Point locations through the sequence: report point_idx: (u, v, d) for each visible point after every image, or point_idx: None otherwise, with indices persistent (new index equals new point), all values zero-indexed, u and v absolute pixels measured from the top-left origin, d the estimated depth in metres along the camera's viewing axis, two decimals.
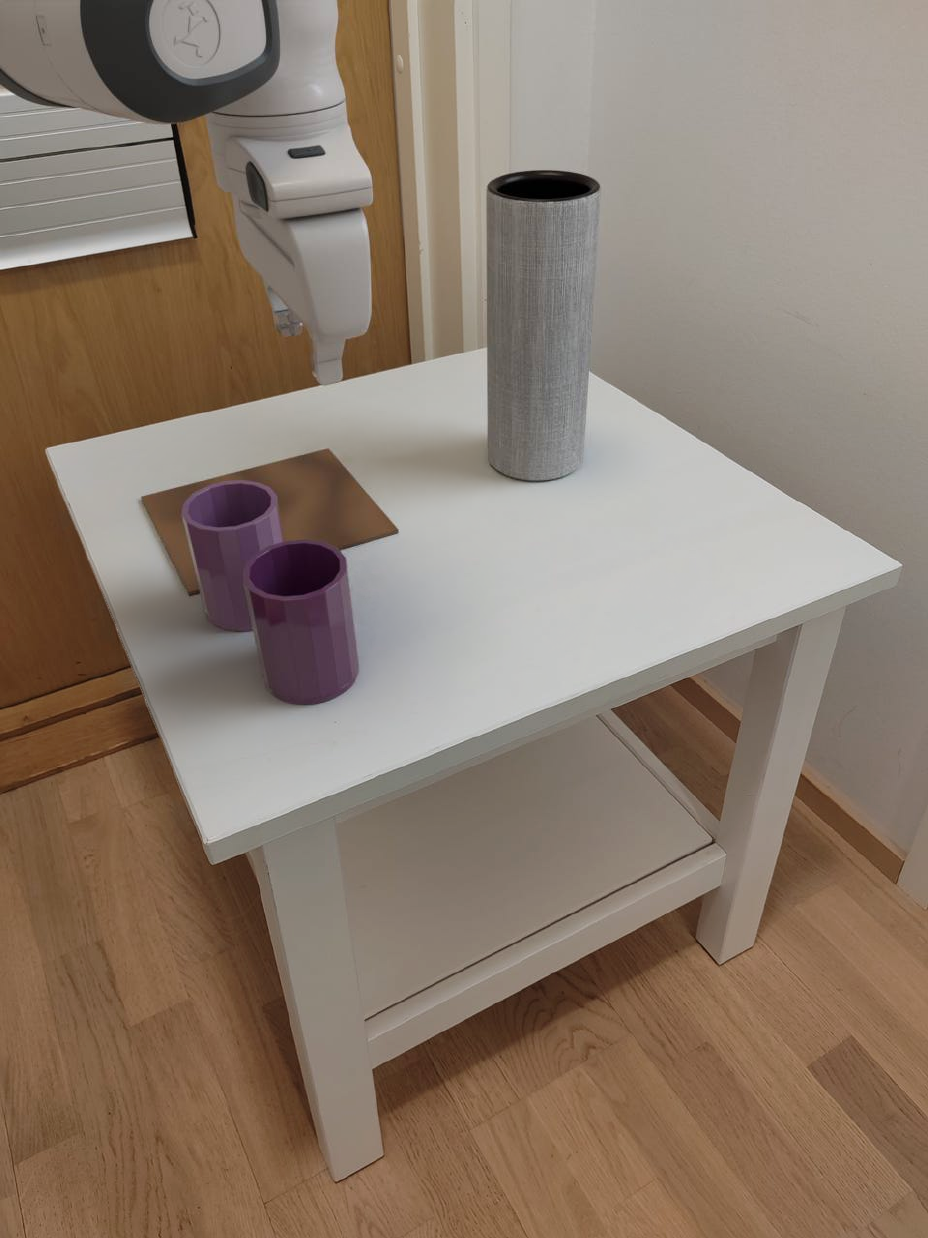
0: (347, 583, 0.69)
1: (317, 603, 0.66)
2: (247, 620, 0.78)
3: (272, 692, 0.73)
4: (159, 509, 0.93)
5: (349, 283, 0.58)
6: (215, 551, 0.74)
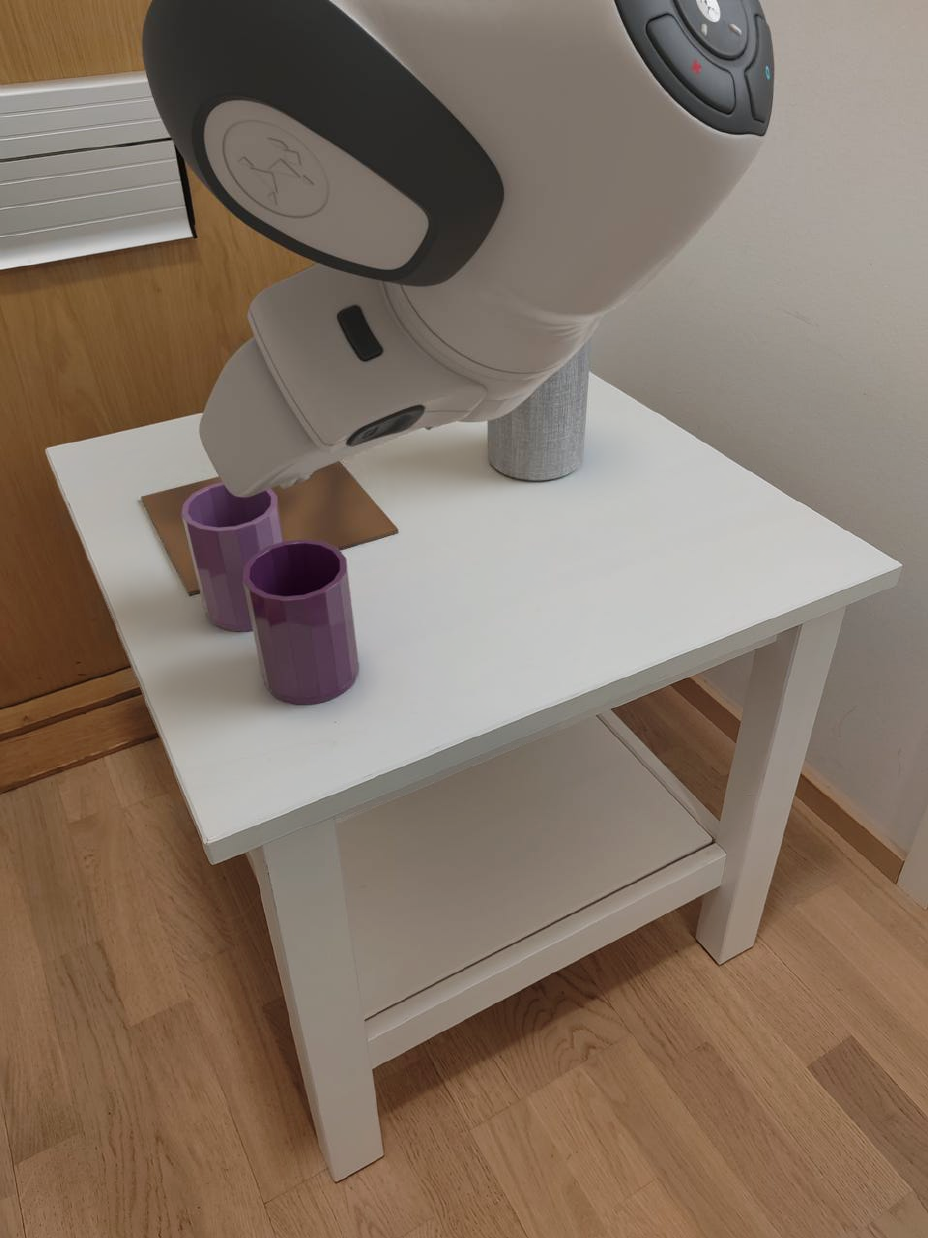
0: (347, 583, 0.69)
1: (317, 603, 0.66)
2: (247, 620, 0.78)
3: (272, 692, 0.73)
4: (159, 509, 0.93)
5: (236, 451, 0.40)
6: (215, 551, 0.74)
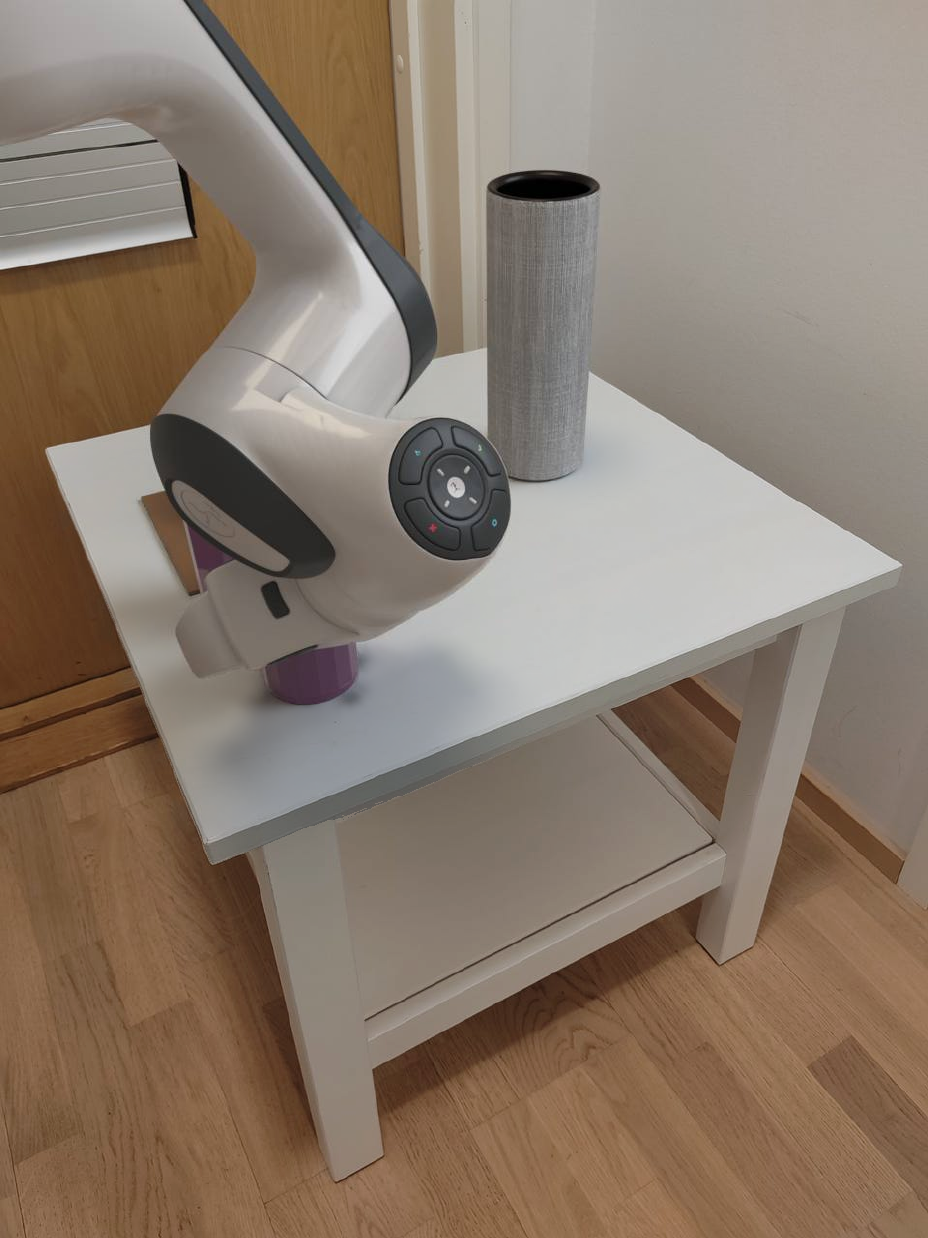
0: None
1: None
2: None
3: (272, 692, 0.73)
4: (159, 509, 0.93)
5: (197, 655, 0.60)
6: (215, 551, 0.74)
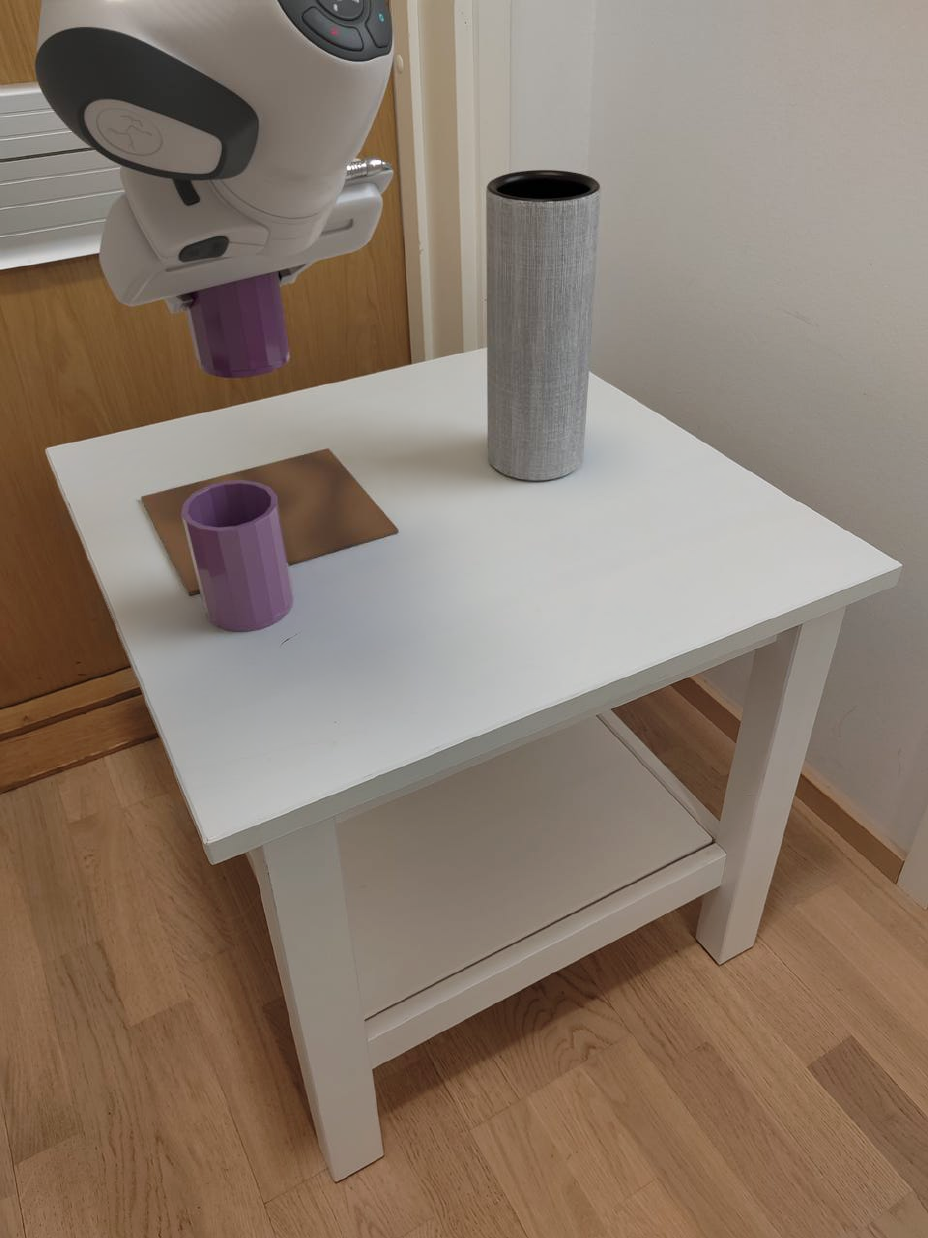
0: None
1: None
2: (247, 620, 0.78)
3: (204, 369, 0.75)
4: (159, 509, 0.93)
5: (117, 268, 0.63)
6: (215, 551, 0.74)
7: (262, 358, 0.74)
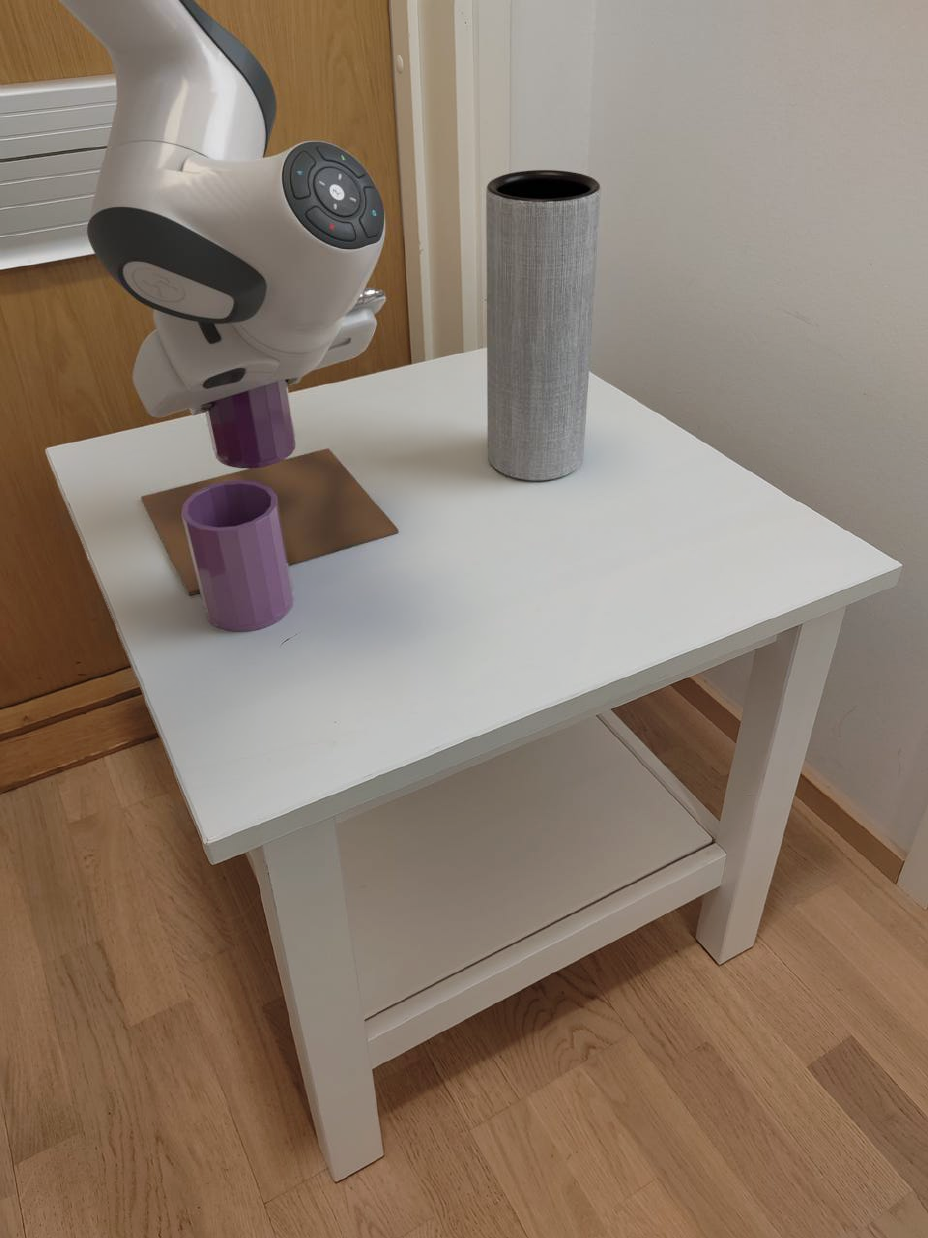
0: None
1: None
2: (247, 620, 0.78)
3: (220, 460, 0.86)
4: (159, 509, 0.93)
5: (149, 389, 0.73)
6: (215, 551, 0.74)
7: (271, 451, 0.85)
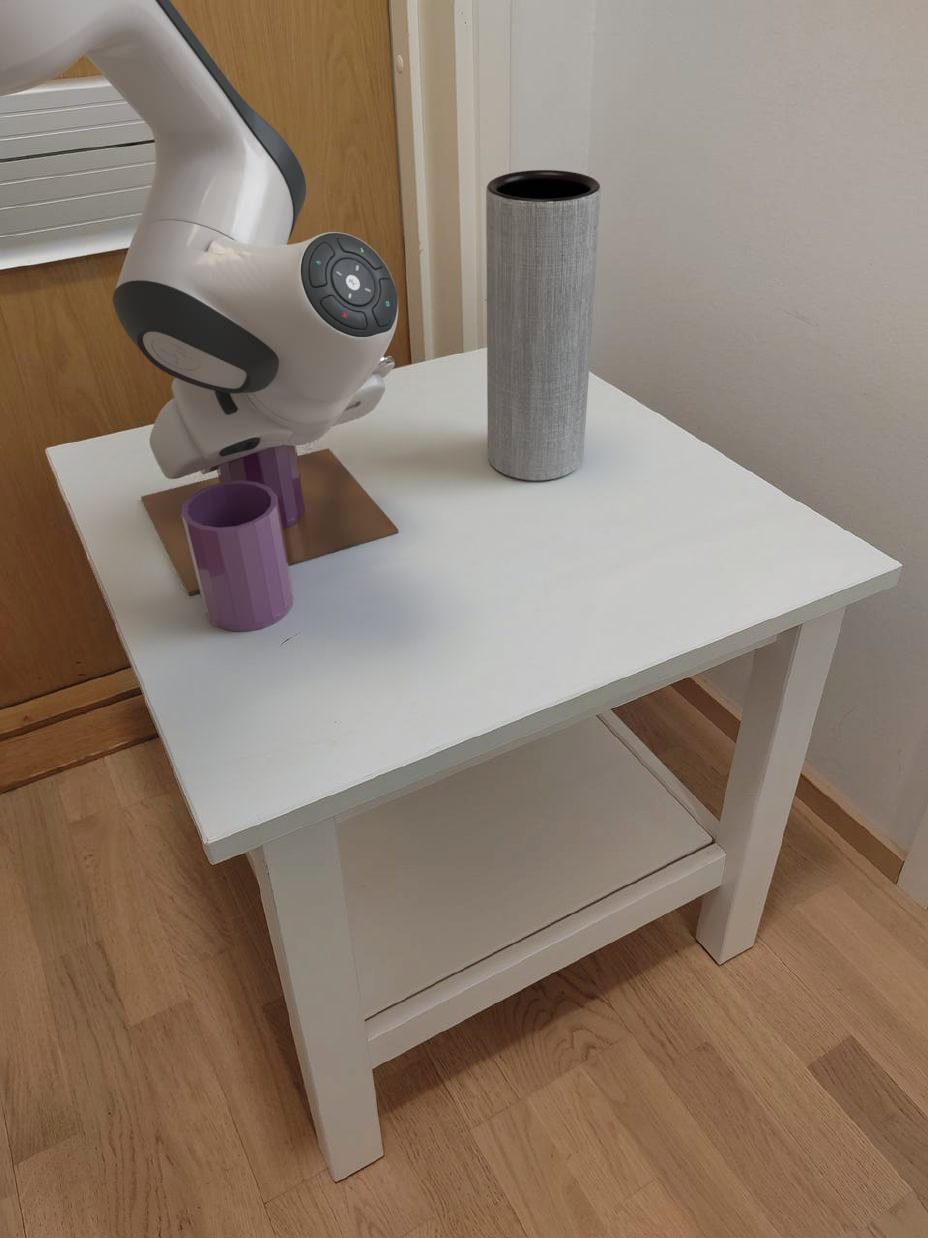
0: None
1: None
2: (247, 620, 0.78)
3: None
4: (159, 509, 0.93)
5: (166, 454, 0.75)
6: (215, 551, 0.74)
7: (282, 517, 0.89)
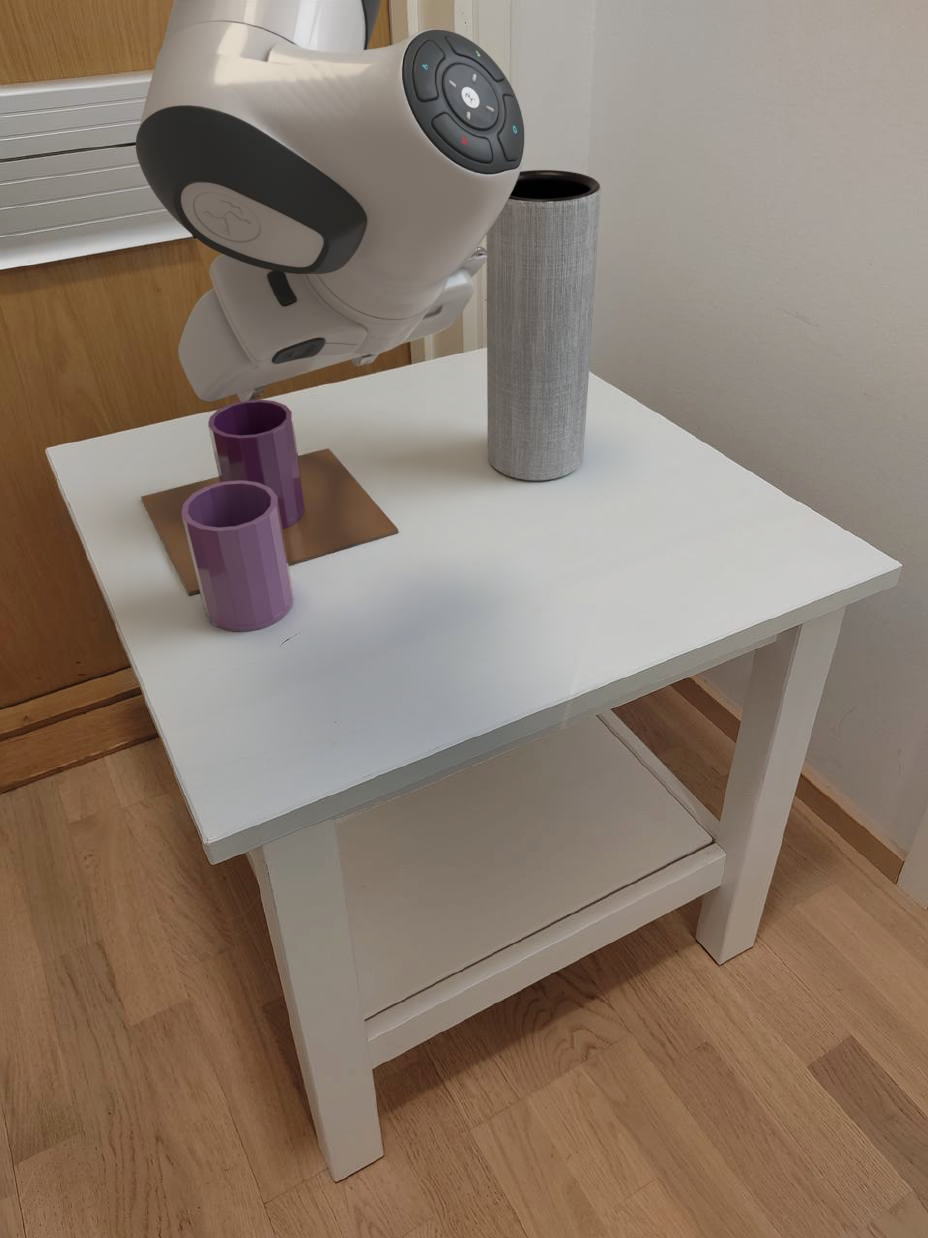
0: (292, 430, 0.86)
1: (266, 441, 0.84)
2: (247, 620, 0.78)
3: None
4: (159, 509, 0.93)
5: (201, 365, 0.58)
6: (215, 551, 0.74)
7: (282, 517, 0.89)
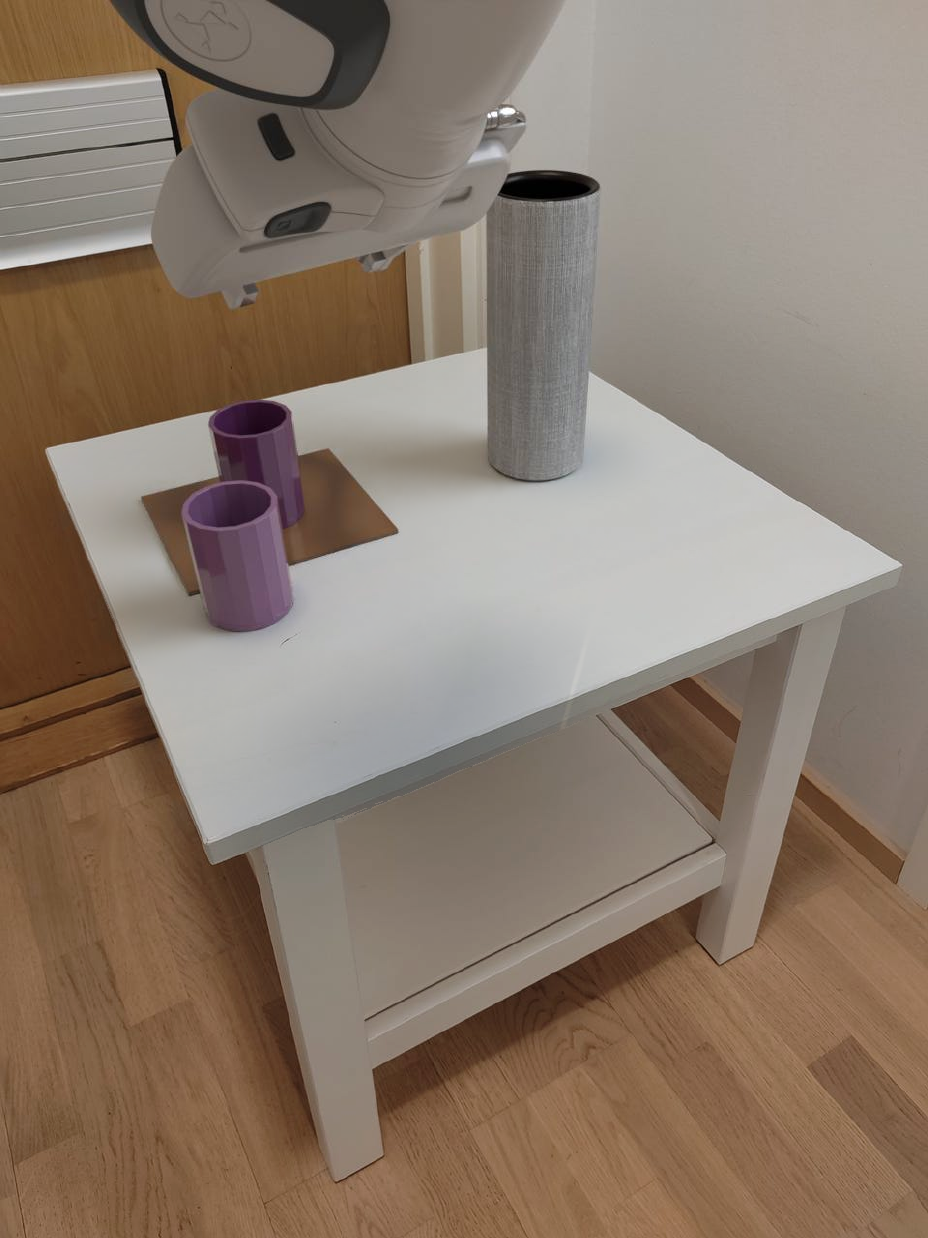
0: (292, 430, 0.86)
1: (266, 441, 0.84)
2: (247, 620, 0.78)
3: None
4: (159, 509, 0.93)
5: (177, 247, 0.47)
6: (215, 551, 0.74)
7: (282, 517, 0.89)
